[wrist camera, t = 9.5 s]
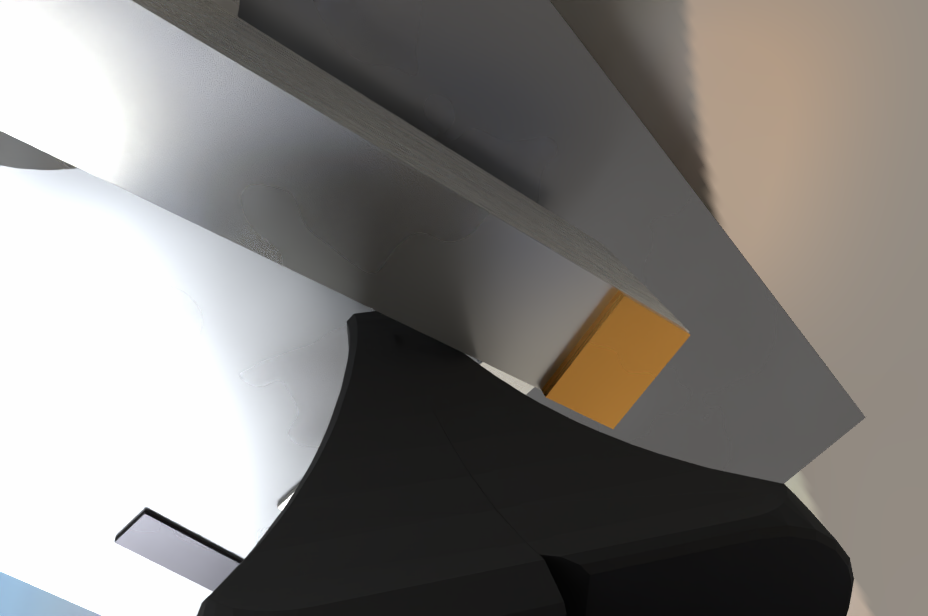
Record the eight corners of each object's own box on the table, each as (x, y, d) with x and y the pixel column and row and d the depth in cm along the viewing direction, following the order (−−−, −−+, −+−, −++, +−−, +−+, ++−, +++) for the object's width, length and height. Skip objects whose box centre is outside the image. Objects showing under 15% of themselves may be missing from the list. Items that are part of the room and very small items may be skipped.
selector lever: (-289, 19, 9) (-533, 105, 6) (-129, -422, 8) (-341, -587, 5) (476, 376, 14) (546, 518, 11) (647, 145, 13) (780, 236, 10)
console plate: (-584, 238, 11) (-675, 284, 10) (75, -604, 9) (54, -669, 8) (428, 718, 21) (440, 766, 20) (833, 385, 19) (871, 417, 18)
